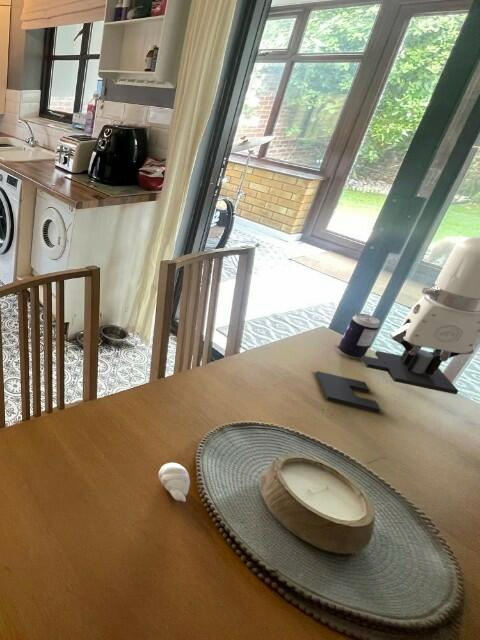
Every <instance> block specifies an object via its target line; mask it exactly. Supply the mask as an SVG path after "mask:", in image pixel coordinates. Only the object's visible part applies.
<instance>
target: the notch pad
mask: <svg viewBox="0 0 480 640" xmlns="http://www.w3.org/2000/svg"><path fill="white" fill-rule="evenodd" d="M315 375H316V378H317V380H318V383H319V385H320V387H321V390H322V392H323V394H324V396H325V399H326V400H327V401H330V402H335V403H338V404H343V405H347V406H351V407H354V408H358V409H363V410H367V411H371V412H375V413H380V412H381V407H380V405H379V404H378V403H377V401H376V400H373V399H370V398H365V397H361V396H356V395H355V393H354V391H353V390H355V391H358V392H363V393H369V392H370V388H369V387H368V384H367V383H366V381H362V380H357V379H353V378H349V377H346V376H345V377H344V376H341V375H336V374H332V373H327V372H323V371H318V370H317V371H316V372H315Z"/></svg>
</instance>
